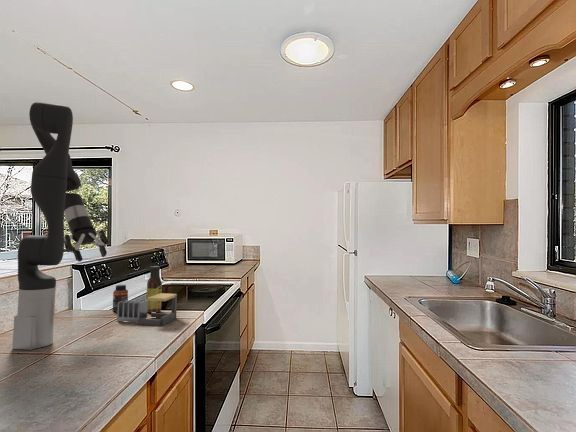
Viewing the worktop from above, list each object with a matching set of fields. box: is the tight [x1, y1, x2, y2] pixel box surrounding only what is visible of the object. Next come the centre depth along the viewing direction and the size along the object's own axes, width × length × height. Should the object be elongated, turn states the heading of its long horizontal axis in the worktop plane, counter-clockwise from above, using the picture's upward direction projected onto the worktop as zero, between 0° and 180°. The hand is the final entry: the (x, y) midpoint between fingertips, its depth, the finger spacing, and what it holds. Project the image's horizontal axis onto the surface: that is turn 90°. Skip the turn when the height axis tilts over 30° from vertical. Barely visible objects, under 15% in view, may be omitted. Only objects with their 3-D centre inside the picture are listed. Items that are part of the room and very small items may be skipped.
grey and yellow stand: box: [137, 292, 178, 327], centre depth 136 cm, size 11×10×10 cm
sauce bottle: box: [145, 265, 163, 313], centre depth 152 cm, size 6×6×20 cm
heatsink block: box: [116, 299, 148, 323], centre depth 137 cm, size 6×9×8 cm, turn 84°
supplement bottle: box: [112, 284, 129, 312], centre depth 153 cm, size 6×6×11 cm
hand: (92, 258), depth 128 cm, fingers open, 8 cm apart
